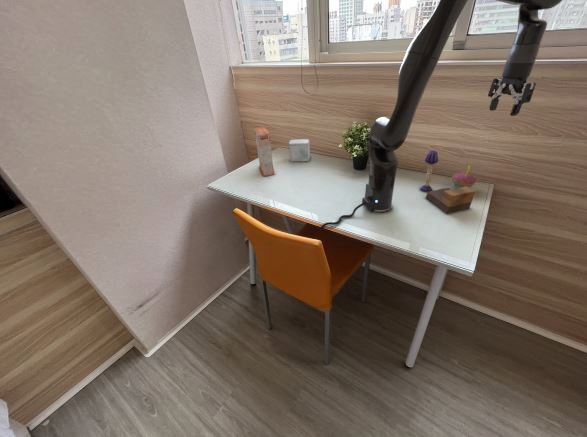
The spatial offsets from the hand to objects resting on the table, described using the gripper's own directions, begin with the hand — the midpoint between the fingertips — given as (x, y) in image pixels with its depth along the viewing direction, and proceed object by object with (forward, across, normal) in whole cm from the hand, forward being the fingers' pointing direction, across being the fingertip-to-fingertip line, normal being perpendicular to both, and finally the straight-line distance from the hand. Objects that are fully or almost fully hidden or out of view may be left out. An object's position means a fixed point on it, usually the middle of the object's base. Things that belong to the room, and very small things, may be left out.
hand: (502, 112), depth 96 cm
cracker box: (+30, -52, -81) cm, 101 cm away
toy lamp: (+30, -5, -21) cm, 36 cm away
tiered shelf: (+29, +7, -20) cm, 36 cm away
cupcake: (+30, 0, -8) cm, 31 cm away
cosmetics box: (+30, -59, -61) cm, 90 cm away
